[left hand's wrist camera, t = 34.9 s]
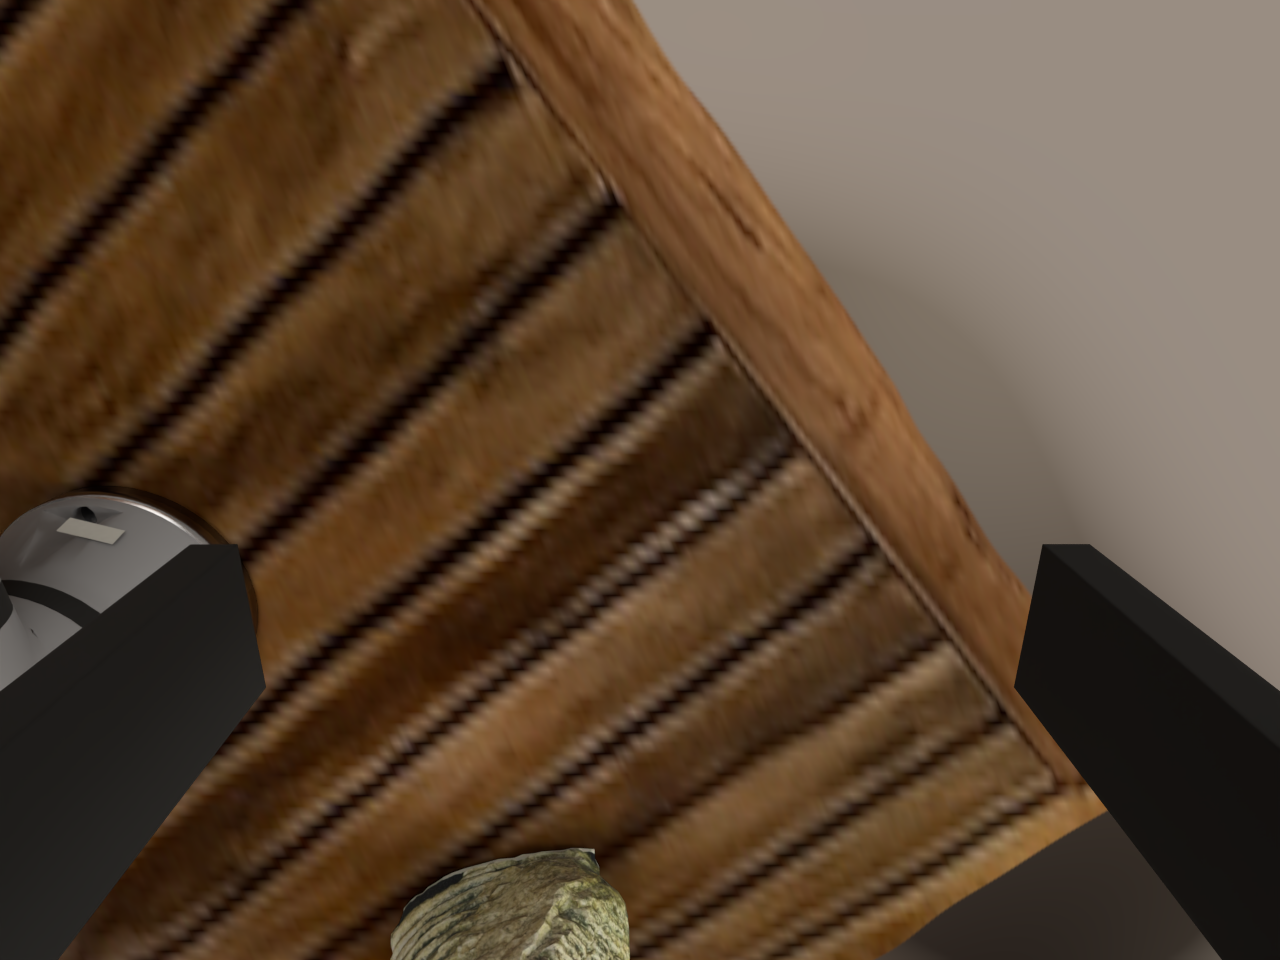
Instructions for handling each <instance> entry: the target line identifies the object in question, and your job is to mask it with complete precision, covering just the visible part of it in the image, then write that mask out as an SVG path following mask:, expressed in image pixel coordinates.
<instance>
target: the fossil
mask: <svg viewBox="0 0 1280 960" xmlns="http://www.w3.org/2000/svg"><path fill="white" fill-rule="evenodd" d="M599 870H600V869H599V866H598V864H597V862H596V860H595V850H594V849H584V848H570V849H566V850H556V851H543V852H537V853H532V854H522V855H520V856H518V857H515V858H505V859H497V860H493V861H490V862H486V863H482V864H479V865H475V866H472V867H468V868H465V869H462V870H459V871H456V872H453V873H451V874H449V875H447V876H445V877H443V878H442V879H440V880H439V881H437V882H436V883H434V884H432V885H431V886H429V887H428V888H427V889H426V890H425V891H424V892H423V893H421V894H419V895H417V896H415V897H414V898H413V899H412V900H411V901H410V902H409V903H408V904H407V905H406V906H405V908H404V911H403V915H402V917H401V920H400V922H399V924H398V925H397V927H396V928H395V930H394V931H393V932H392V934H391V948H392V952H393V955H392V957H391V960H630V950H629V925H628V915H627V911H626V906H625V902H624V900H623V898H622V897H621V895H620V894H619V892H618V891H617V890H615V889H614V888H613V887H612V886H610V885H609V884H608V883H607V882H606V881H605V880H604V879H603V878H602V877H601V876H600V875H599Z"/></svg>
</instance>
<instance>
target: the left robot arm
mask: <svg viewBox="0 0 1280 960" xmlns="http://www.w3.org/2000/svg"><path fill="white" fill-rule="evenodd" d="M257 625H258V608H257V600H256V596H255V592H254V588H253V585H252V582H251V580H250V577H249V575H248V573H247V571H246V569H245V567H244V565H243V564H242V562H241V560H240V555H239V550H238V545H237V544H228V543H227V541H226V540H225V539H224V538H223V537H222V536H221V535H220V534H219V533H218V532H217V531H216V530H215V529H214V528H213V527H211V526H210V525H209V524H208V523H207V522H205V521H204V520H203V519H201V518H200V517H199V516H197V515H196V514H194V513H193V512H191V511H189V510H188V509H186V508H185V507H183V506H181V505H179V504H177V503H175V502H173V501H171V500H168V499H166V498H164V497H161V496H159V495H156V494H153V493H149V492H146V491H142V490H138V489H133V488H127V487H118V486H95V487H86V488H81V489H77V490H72V491H70V492H67V493H64V494H61V495H59V496H57V497H55V498H53V499H51V500H49V501H47V502H45V503H43V504H41V505H39V506H37V507H35V508H33V509H31V510H29V511H28V512H26V513H25V514H23V515H21V516H20V517H19V518H18V519H16V520H15V521H14V522H13V523H12V524H11V525H10V526H9V527H8V528H7V529H6V530H5V531H4V533H3V534H2V535H1V537H0V960H58V959H59V958H60V956H61V955H62V954H63V952H64V951H65V950H66V949H67V947H68V946H69V945H70V943H71V942H72V941H73V939H74V938H75V937H76V935H77V934H78V933H79V932H80V930H81V929H82V928H83V926H84V925H85V924H86V922H87V921H88V920H89V918H90V917H91V916H92V914H93V913H94V912H95V911H96V909H97V908H98V907H99V905H100V904H101V903H102V901H103V900H104V899H105V897H106V896H107V895H108V894H109V892H110V891H111V890H112V888H113V887H114V886H115V884H116V883H117V882H118V880H119V879H120V878H121V876H122V875H123V874H124V873H125V871H126V870H127V869H128V867H129V866H130V865H131V863H132V862H133V861H134V859H135V858H136V857H137V856H138V854H139V853H140V852H141V850H142V849H143V848H144V846H145V845H146V844H147V842H148V841H149V840H150V838H151V837H152V836H153V835H154V833H155V832H156V831H157V829H158V828H159V827H160V825H161V824H162V823H163V821H164V820H165V819H166V818H167V816H168V815H169V814H170V812H171V811H172V810H173V808H174V807H175V806H176V804H177V803H178V802H179V800H180V799H181V798H182V797H183V795H184V794H185V793H186V791H187V790H188V789H189V787H190V786H191V785H192V783H193V782H194V781H195V779H196V778H197V777H198V776H199V774H200V773H201V772H202V770H203V769H204V768H205V766H206V765H207V764H208V762H209V761H210V760H211V759H212V757H213V756H214V755H215V753H216V752H217V751H218V749H219V748H220V747H221V745H222V744H223V743H224V741H225V740H226V739H227V738H228V736H229V735H230V734H231V732H232V731H233V730H234V728H235V727H236V726H237V724H238V723H239V722H240V721H241V719H242V718H243V717H244V715H245V714H246V713H247V711H248V710H249V709H250V707H251V706H252V705H253V703H254V702H255V701H256V700H257V698H258V697H259V696H260V694H261V693H262V692H263V690H264V689H265V688H266V685H265V680H264V675H263V670H262V665H261V660H260V655H259V650H258V645H257V640H256V633H257ZM1014 688H1015V689H1016V690H1017V692H1018V693H1019V694H1020V696H1021V697H1022V698H1023V700H1024V701H1025V702H1026V703H1027V705H1028V706H1029V707H1030V709H1031V710H1032V711H1033V713H1034V714H1035V715H1036V717H1037V718H1038V719H1039V721H1040V722H1041V723H1042V724H1043V726H1044V727H1045V728H1046V730H1047V731H1048V732H1049V734H1050V735H1051V736H1052V738H1053V739H1054V740H1055V741H1056V743H1057V744H1058V745H1059V747H1060V748H1061V749H1062V751H1063V752H1064V753H1065V755H1066V756H1067V757H1068V759H1069V760H1070V761H1071V762H1072V764H1073V765H1074V766H1075V768H1076V769H1077V770H1078V772H1079V773H1080V774H1081V776H1082V777H1083V778H1084V779H1085V781H1086V782H1087V783H1088V785H1089V786H1090V787H1091V789H1092V790H1093V791H1094V793H1095V794H1096V795H1097V797H1098V798H1099V799H1100V800H1101V802H1102V803H1103V804H1104V806H1105V807H1106V808H1107V810H1108V811H1109V812H1110V814H1111V815H1112V816H1113V818H1114V819H1115V820H1116V821H1117V823H1118V824H1119V825H1120V827H1121V828H1122V829H1123V831H1124V832H1125V833H1126V835H1127V836H1128V837H1129V838H1130V840H1131V841H1132V842H1133V844H1134V845H1135V846H1136V848H1137V849H1138V850H1139V852H1140V853H1141V854H1142V855H1143V857H1144V858H1145V859H1146V861H1147V862H1148V863H1149V865H1150V866H1151V867H1152V869H1153V870H1154V871H1155V873H1156V874H1157V875H1158V876H1159V878H1160V879H1161V880H1162V882H1163V883H1164V884H1165V886H1166V887H1167V888H1168V890H1169V891H1170V892H1171V894H1172V895H1173V896H1174V897H1175V899H1176V900H1177V901H1178V903H1179V904H1180V905H1181V907H1182V908H1183V909H1184V910H1185V912H1186V913H1187V914H1188V916H1189V917H1190V918H1191V920H1192V921H1193V922H1194V924H1195V925H1196V926H1197V928H1198V929H1199V930H1200V932H1201V933H1202V934H1203V935H1204V937H1205V938H1206V939H1207V941H1208V942H1209V943H1210V945H1211V946H1212V947H1213V949H1214V950H1215V951H1216V952H1217V954H1218V955H1219V956H1220V958H1221V959H1222V960H1280V691H1279V690H1278V689H1276V688H1275V687H1274V686H1272V685H1271V684H1270V683H1269V682H1267V681H1266V680H1265V679H1263V678H1262V677H1261V676H1259V675H1258V674H1257V673H1256V672H1254V671H1253V670H1252V669H1250V668H1249V667H1248V666H1247V665H1245V664H1244V663H1243V662H1241V661H1240V660H1239V659H1237V658H1236V657H1235V656H1234V655H1232V654H1231V653H1230V652H1228V651H1227V650H1226V649H1225V648H1223V647H1222V646H1221V645H1219V644H1218V643H1217V642H1215V641H1214V640H1213V639H1211V638H1210V637H1209V636H1208V635H1206V634H1205V633H1204V632H1202V631H1201V630H1200V629H1199V628H1197V627H1196V626H1195V625H1193V624H1192V623H1191V622H1190V621H1188V620H1187V619H1186V618H1184V617H1183V616H1182V615H1180V614H1179V613H1178V612H1177V611H1175V610H1174V609H1173V608H1171V607H1170V606H1169V605H1168V604H1166V603H1165V602H1164V601H1162V600H1161V599H1160V598H1158V597H1157V596H1156V595H1155V594H1153V593H1152V592H1151V591H1149V590H1148V589H1147V588H1146V587H1144V586H1143V585H1142V584H1140V583H1139V582H1138V581H1136V580H1135V579H1134V578H1133V577H1131V576H1130V575H1129V574H1127V573H1126V572H1125V571H1123V570H1122V569H1121V568H1120V567H1118V566H1117V565H1116V564H1114V563H1113V562H1112V561H1111V560H1109V559H1108V558H1107V557H1105V556H1104V555H1103V554H1102V553H1100V552H1099V551H1098V550H1096V549H1095V548H1094V547H1092V546H1091V545H1090V544H1043V545H1042V550H1041V555H1040V560H1039V565H1038V570H1037V575H1036V580H1035V585H1034V590H1033V595H1032V600H1031V605H1030V610H1029V615H1028V620H1027V625H1026V630H1025V635H1024V640H1023V645H1022V650H1021V655H1020V660H1019V665H1018V670H1017V675H1016V680H1015V685H1014Z"/></svg>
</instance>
